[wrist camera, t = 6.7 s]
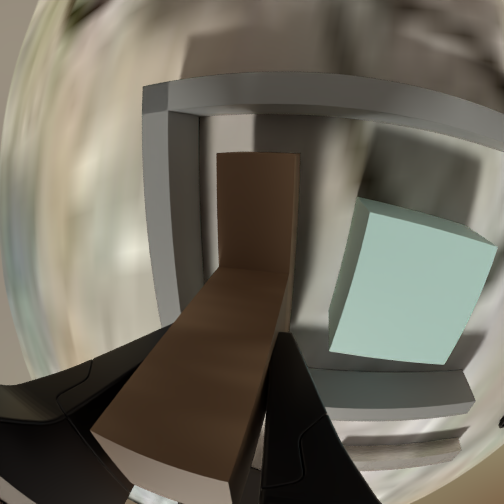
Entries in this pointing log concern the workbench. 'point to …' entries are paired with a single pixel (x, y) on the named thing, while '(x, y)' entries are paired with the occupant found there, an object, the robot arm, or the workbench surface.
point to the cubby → (297, 103)
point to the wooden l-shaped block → (215, 348)
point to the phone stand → (251, 488)
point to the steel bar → (403, 454)
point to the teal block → (406, 284)
